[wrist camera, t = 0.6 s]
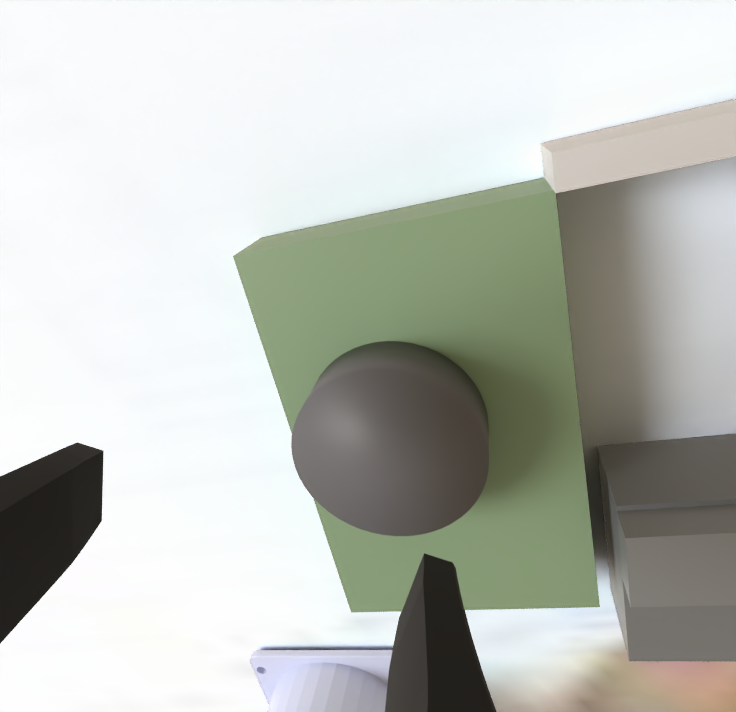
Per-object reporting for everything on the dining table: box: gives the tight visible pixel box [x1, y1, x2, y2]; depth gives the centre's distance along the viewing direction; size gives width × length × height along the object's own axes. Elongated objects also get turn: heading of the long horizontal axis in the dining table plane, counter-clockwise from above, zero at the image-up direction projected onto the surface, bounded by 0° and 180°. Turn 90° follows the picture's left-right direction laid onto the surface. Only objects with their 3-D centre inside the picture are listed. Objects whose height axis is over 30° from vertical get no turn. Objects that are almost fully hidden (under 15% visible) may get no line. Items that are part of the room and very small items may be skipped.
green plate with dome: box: [233, 99, 736, 612], centre depth 18 cm, size 16×18×4 cm
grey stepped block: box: [597, 434, 736, 661], centre depth 19 cm, size 7×5×5 cm
